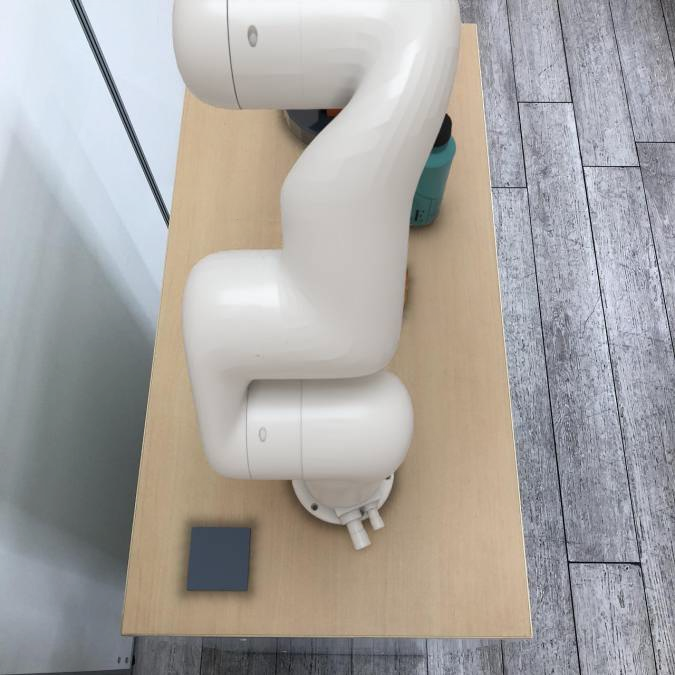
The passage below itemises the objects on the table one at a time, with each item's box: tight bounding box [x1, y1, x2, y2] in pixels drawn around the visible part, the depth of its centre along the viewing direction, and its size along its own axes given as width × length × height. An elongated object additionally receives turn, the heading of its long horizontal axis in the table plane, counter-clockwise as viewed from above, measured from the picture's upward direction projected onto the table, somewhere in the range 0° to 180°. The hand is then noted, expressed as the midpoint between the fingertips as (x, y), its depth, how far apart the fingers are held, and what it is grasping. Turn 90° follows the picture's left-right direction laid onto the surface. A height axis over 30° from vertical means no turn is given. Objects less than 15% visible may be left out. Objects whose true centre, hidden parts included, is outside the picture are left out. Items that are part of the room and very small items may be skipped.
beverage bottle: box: [409, 112, 457, 227], centre depth 82 cm, size 6×7×20 cm
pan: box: [282, 109, 336, 146], centre depth 96 cm, size 17×17×4 cm
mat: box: [185, 526, 252, 592], centre depth 74 cm, size 7×7×1 cm
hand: (339, 104), depth 97 cm, fingers closed on block, 4 cm apart
